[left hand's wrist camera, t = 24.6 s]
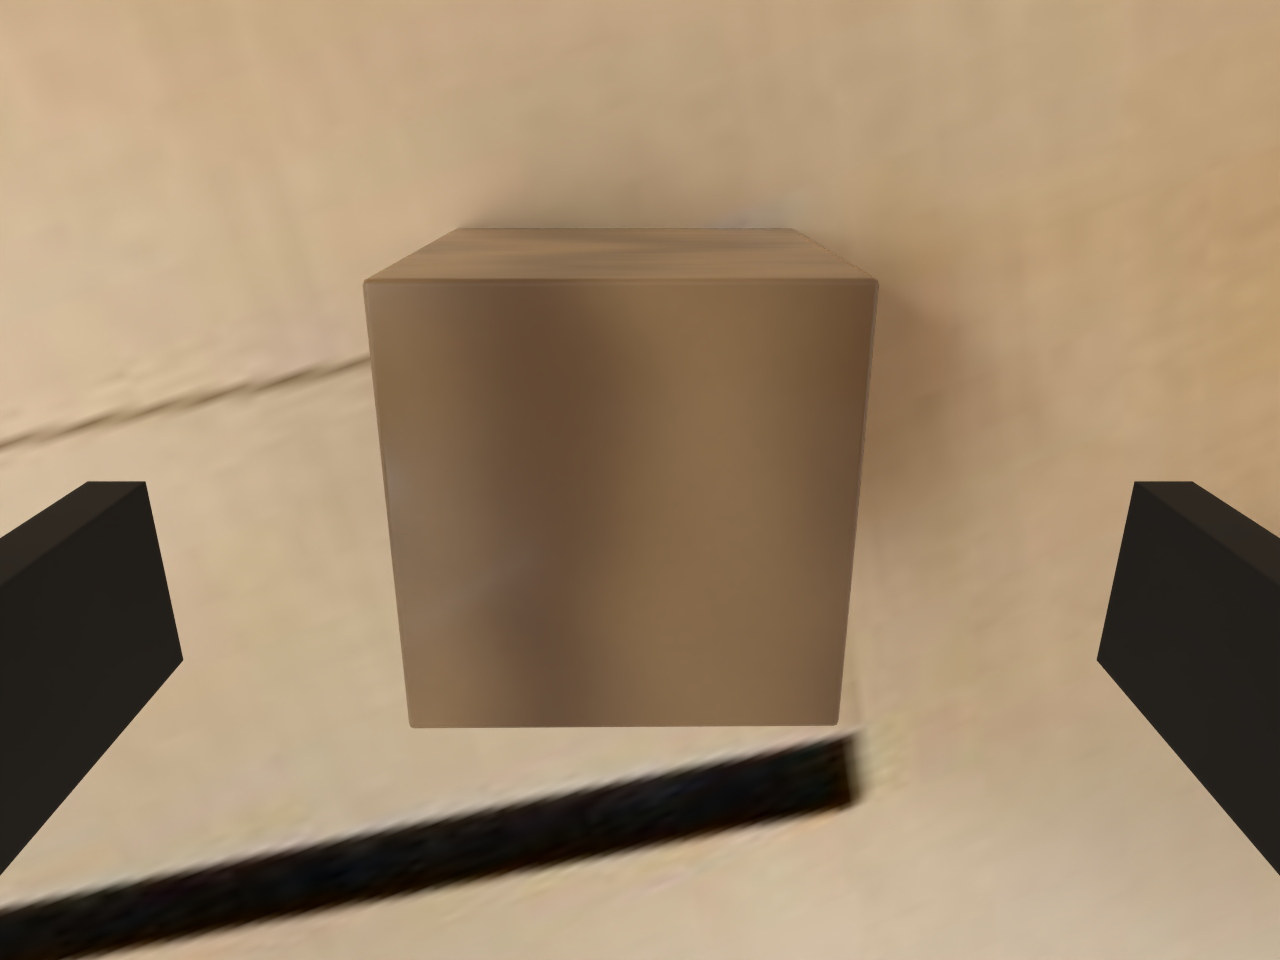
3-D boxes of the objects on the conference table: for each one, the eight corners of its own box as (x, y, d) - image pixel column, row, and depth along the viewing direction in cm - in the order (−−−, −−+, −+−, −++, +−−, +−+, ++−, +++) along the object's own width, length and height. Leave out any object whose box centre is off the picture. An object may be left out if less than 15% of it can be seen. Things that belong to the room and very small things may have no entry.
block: (794, 228, 20) (881, 278, 13) (775, 547, 23) (839, 727, 16) (453, 228, 20) (360, 279, 13) (476, 548, 23) (408, 730, 16)
